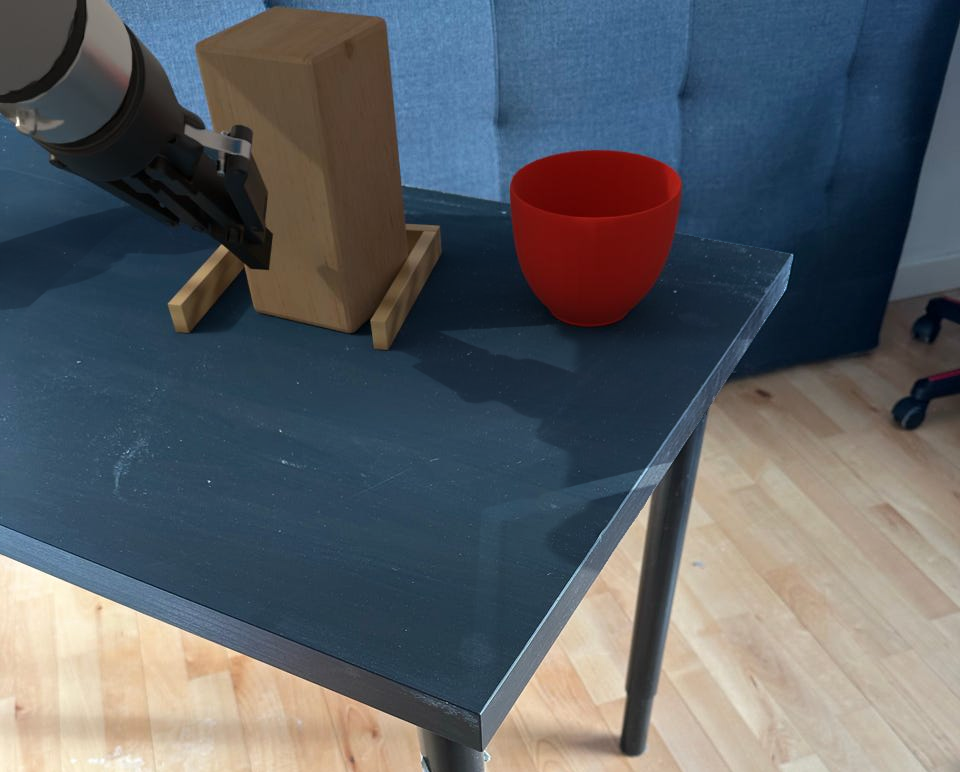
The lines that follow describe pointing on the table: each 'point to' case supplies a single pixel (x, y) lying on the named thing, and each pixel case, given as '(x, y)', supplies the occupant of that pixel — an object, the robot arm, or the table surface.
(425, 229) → the frame
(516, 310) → the table surface
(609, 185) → the ceramic cup
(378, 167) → the wooden block
